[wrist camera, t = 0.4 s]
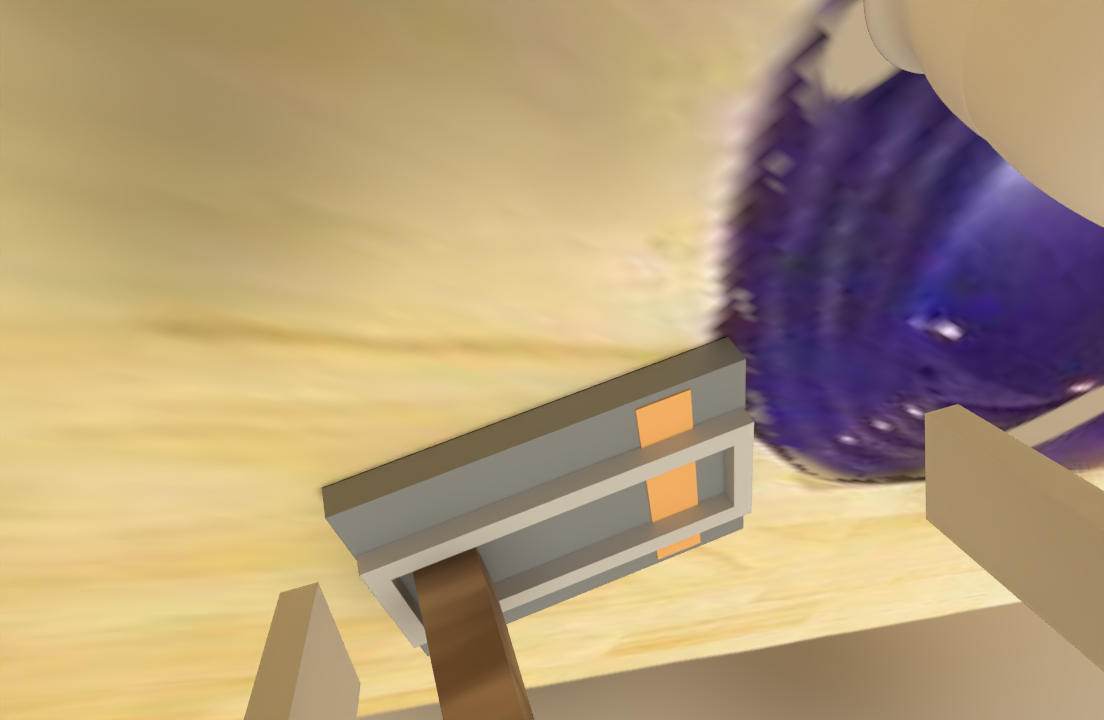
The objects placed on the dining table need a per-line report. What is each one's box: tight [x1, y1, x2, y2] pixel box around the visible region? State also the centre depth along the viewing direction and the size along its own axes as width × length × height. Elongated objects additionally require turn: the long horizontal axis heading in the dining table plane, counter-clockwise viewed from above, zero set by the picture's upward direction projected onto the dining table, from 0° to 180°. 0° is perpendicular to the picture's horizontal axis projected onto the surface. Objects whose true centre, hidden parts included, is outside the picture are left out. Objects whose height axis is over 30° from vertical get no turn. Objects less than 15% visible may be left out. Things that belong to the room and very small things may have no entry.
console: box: [322, 337, 754, 656], centre depth 36 cm, size 14×19×3 cm
